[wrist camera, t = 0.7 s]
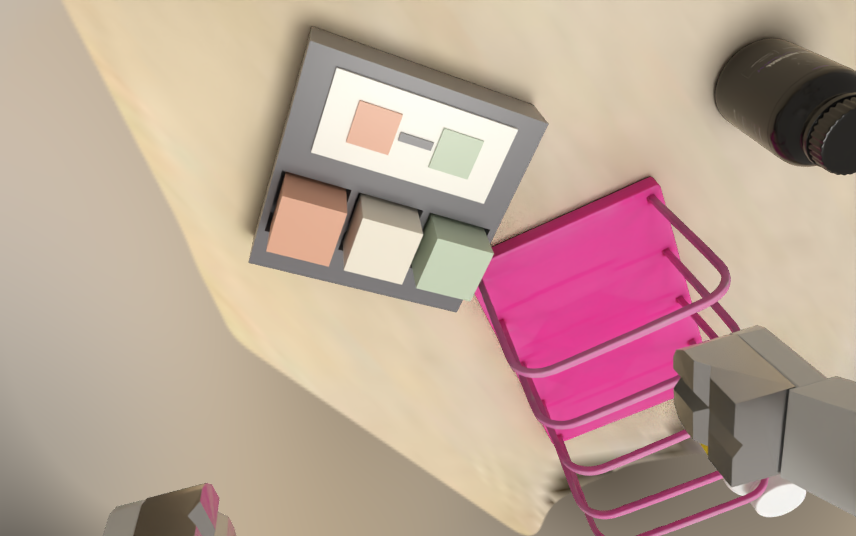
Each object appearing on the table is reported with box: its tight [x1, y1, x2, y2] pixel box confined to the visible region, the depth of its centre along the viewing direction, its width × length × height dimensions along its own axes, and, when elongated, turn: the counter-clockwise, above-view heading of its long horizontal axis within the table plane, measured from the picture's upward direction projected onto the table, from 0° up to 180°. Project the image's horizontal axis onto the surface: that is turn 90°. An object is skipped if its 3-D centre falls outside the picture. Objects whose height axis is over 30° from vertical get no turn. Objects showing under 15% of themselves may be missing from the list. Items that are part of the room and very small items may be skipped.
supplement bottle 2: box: [700, 443, 806, 517], centre depth 63 cm, size 7×7×13 cm
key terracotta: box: [266, 172, 347, 267], centre depth 45 cm, size 4×4×4 cm
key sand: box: [343, 193, 423, 285], centre depth 47 cm, size 4×4×4 cm
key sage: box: [411, 213, 494, 301], centre depth 48 cm, size 4×4×4 cm
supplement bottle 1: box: [715, 38, 856, 175], centre depth 44 cm, size 7×7×12 cm
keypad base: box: [249, 26, 548, 312], centre depth 48 cm, size 17×17×4 cm
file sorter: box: [475, 177, 769, 536], centre depth 54 cm, size 17×25×16 cm
